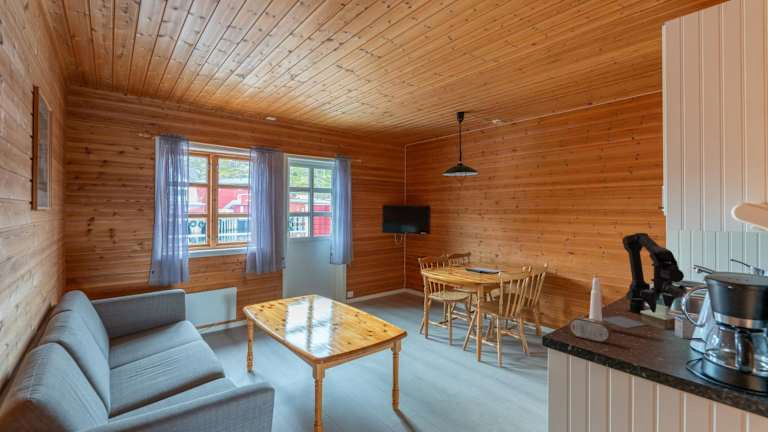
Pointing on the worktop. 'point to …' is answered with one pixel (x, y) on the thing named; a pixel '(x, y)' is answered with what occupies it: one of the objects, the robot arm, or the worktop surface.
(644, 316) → the crate
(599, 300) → the cosmetic bottle
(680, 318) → the medicine box
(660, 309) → the lid
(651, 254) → the robot arm
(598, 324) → the tin
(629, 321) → the mat
